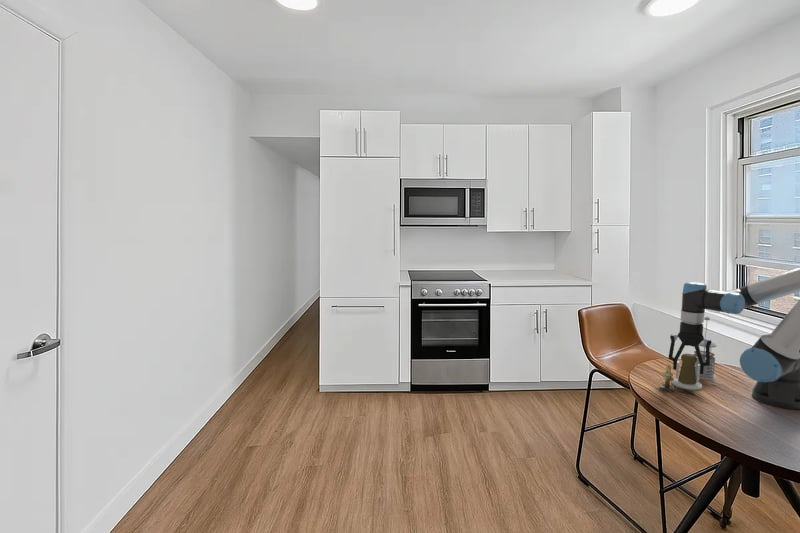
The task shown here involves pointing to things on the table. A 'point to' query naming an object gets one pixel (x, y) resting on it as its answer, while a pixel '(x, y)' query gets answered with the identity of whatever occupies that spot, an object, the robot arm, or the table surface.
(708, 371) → the french press
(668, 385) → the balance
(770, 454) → the table surface
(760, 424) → the table surface
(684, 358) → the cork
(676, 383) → the dish
